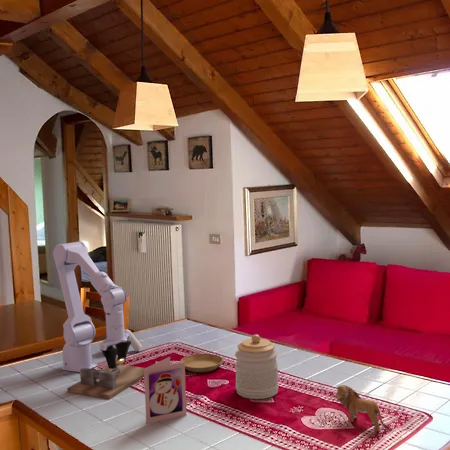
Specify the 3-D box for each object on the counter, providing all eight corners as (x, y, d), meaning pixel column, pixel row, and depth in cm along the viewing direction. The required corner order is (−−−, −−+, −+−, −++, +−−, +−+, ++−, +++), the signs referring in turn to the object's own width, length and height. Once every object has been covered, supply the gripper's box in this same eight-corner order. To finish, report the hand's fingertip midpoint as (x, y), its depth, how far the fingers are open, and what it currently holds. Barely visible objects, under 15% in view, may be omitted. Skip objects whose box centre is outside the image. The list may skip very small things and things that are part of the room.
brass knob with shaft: (90, 382, 176) (90, 368, 175) (115, 369, 188) (114, 355, 187) (103, 385, 174) (103, 370, 173) (128, 371, 186) (127, 357, 185)
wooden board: (67, 391, 174) (66, 372, 174) (113, 366, 196) (112, 350, 195) (109, 399, 168) (108, 379, 167) (152, 372, 189) (152, 355, 189)
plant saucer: (198, 378, 183) (198, 370, 183) (172, 367, 194) (171, 360, 194) (232, 367, 193) (231, 359, 193) (204, 357, 204) (204, 350, 204)
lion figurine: (332, 419, 150) (332, 386, 149) (341, 412, 154) (341, 380, 153) (384, 434, 140) (384, 399, 139) (393, 426, 144) (393, 392, 144)
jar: (283, 385, 174) (281, 330, 173) (272, 402, 162) (271, 342, 160) (243, 381, 178) (241, 327, 177) (230, 397, 166) (228, 339, 165)
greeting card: (147, 424, 149) (144, 370, 148) (139, 414, 156) (137, 361, 155) (187, 416, 154) (185, 363, 153) (178, 406, 161) (176, 355, 159)
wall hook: (139, 353, 208) (132, 327, 208) (114, 358, 211) (107, 333, 210) (146, 346, 216) (139, 321, 216) (122, 352, 219) (115, 327, 218)
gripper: (111, 331, 175) (113, 374, 176) (137, 320, 188) (139, 360, 189) (93, 329, 178) (95, 371, 179) (120, 318, 191) (122, 357, 192)
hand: (116, 365), depth 184 cm, fingers closed on brass knob with shaft, 5 cm apart
